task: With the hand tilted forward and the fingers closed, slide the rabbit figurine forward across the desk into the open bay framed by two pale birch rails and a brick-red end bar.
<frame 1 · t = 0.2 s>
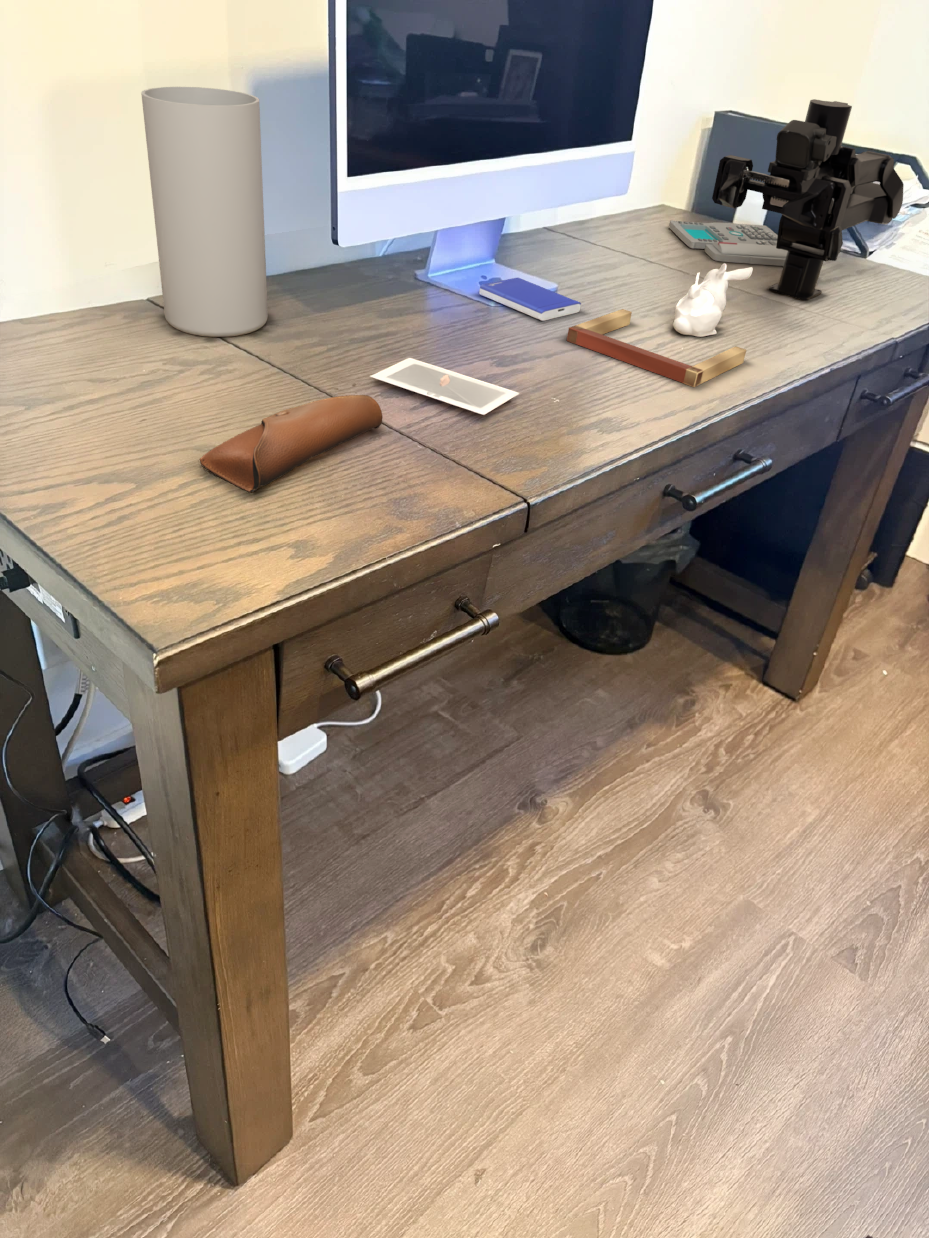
hand: (751, 202, 124), 16 cm above the table, tool horizontal, fingers open, 9 cm apart
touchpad: (443, 395, 105), on the table
bay: (654, 352, 122), on the table
cylinder vase: (217, 323, 117), on the table
sunglasses case: (293, 451, 91), on the table
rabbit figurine: (704, 332, 130), on the table
office telephone: (735, 247, 171), on the table
hard drive: (528, 305, 133), on the table
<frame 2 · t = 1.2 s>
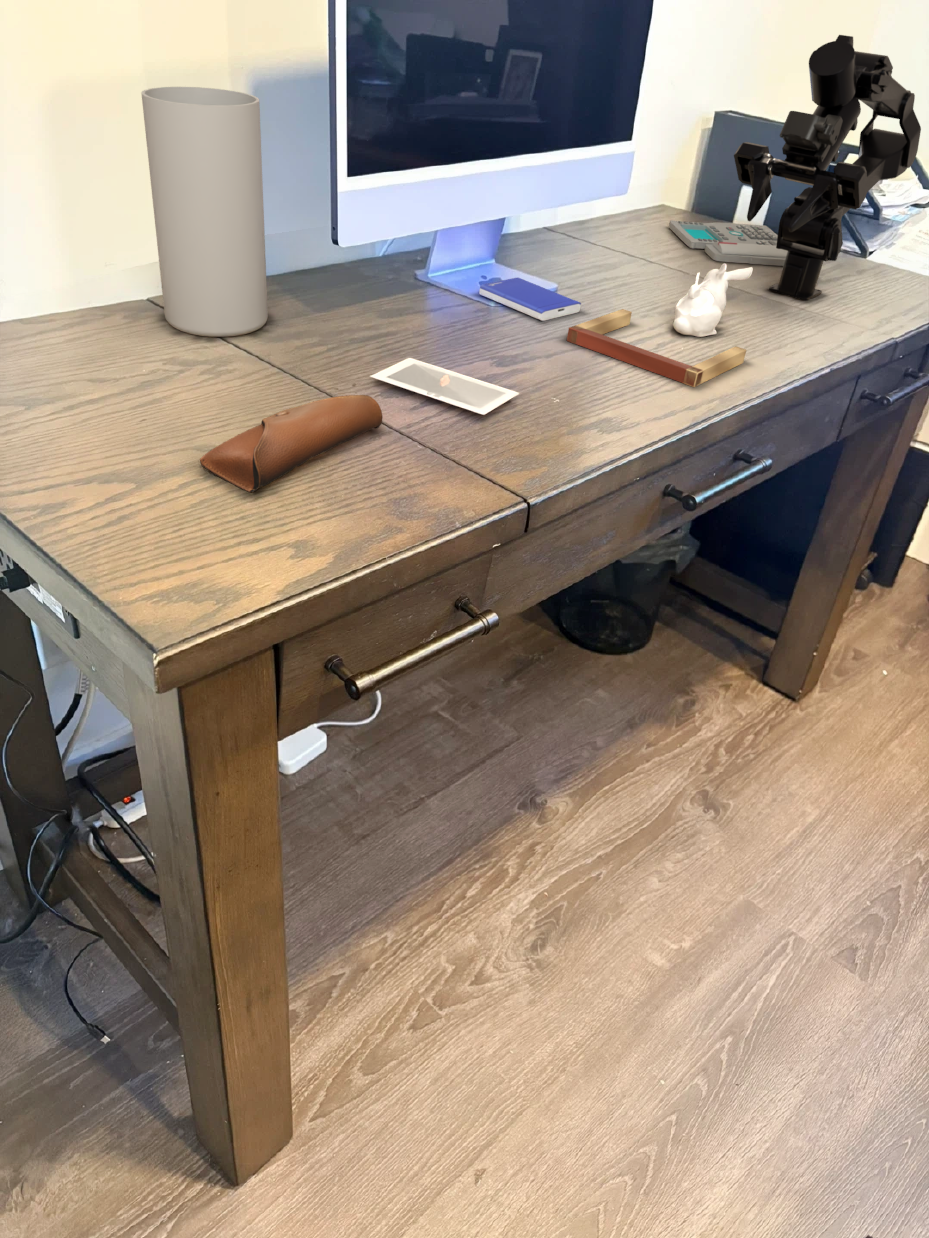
hand: (768, 224, 131), 13 cm above the table, tool tilted 45°, fingers open, 6 cm apart
nothing on the table moved.
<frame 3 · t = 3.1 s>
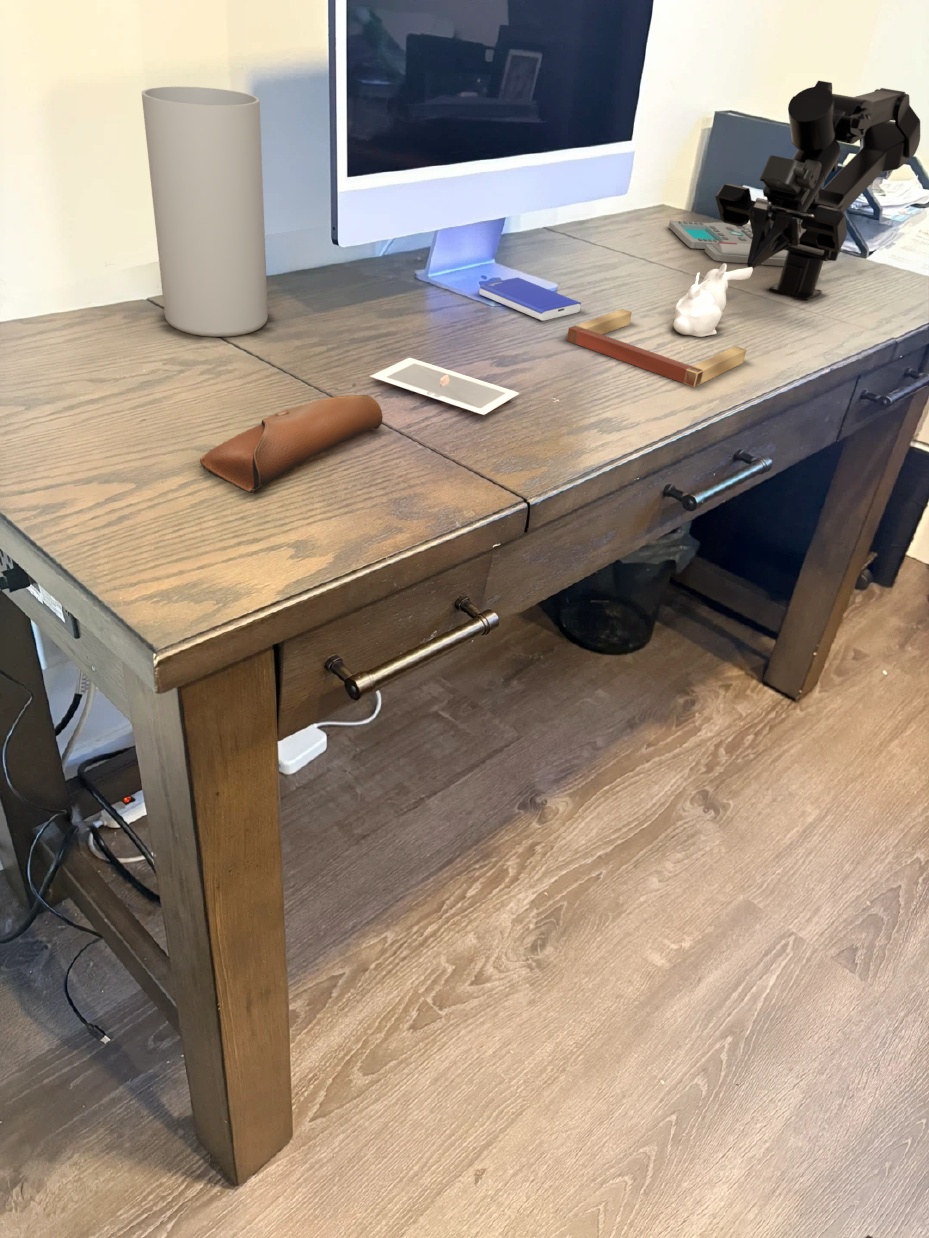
hand: (749, 266, 132), 7 cm above the table, tool tilted 45°, fingers closed
nothing on the table moved.
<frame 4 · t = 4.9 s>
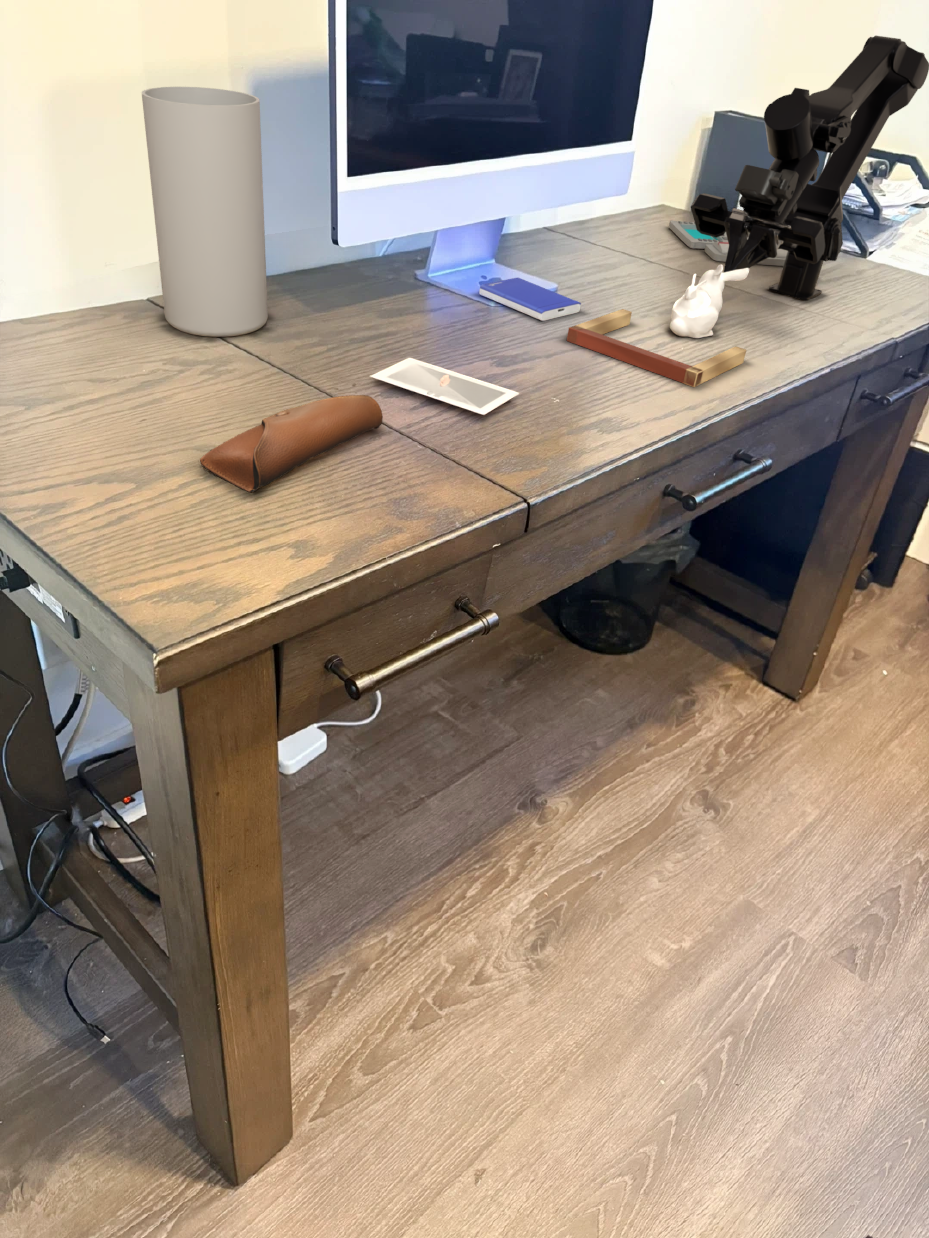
hand: (725, 278, 128), 7 cm above the table, tool tilted 45°, fingers closed
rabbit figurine: (700, 333, 130), on the table, touching gripper
everything else where it was.
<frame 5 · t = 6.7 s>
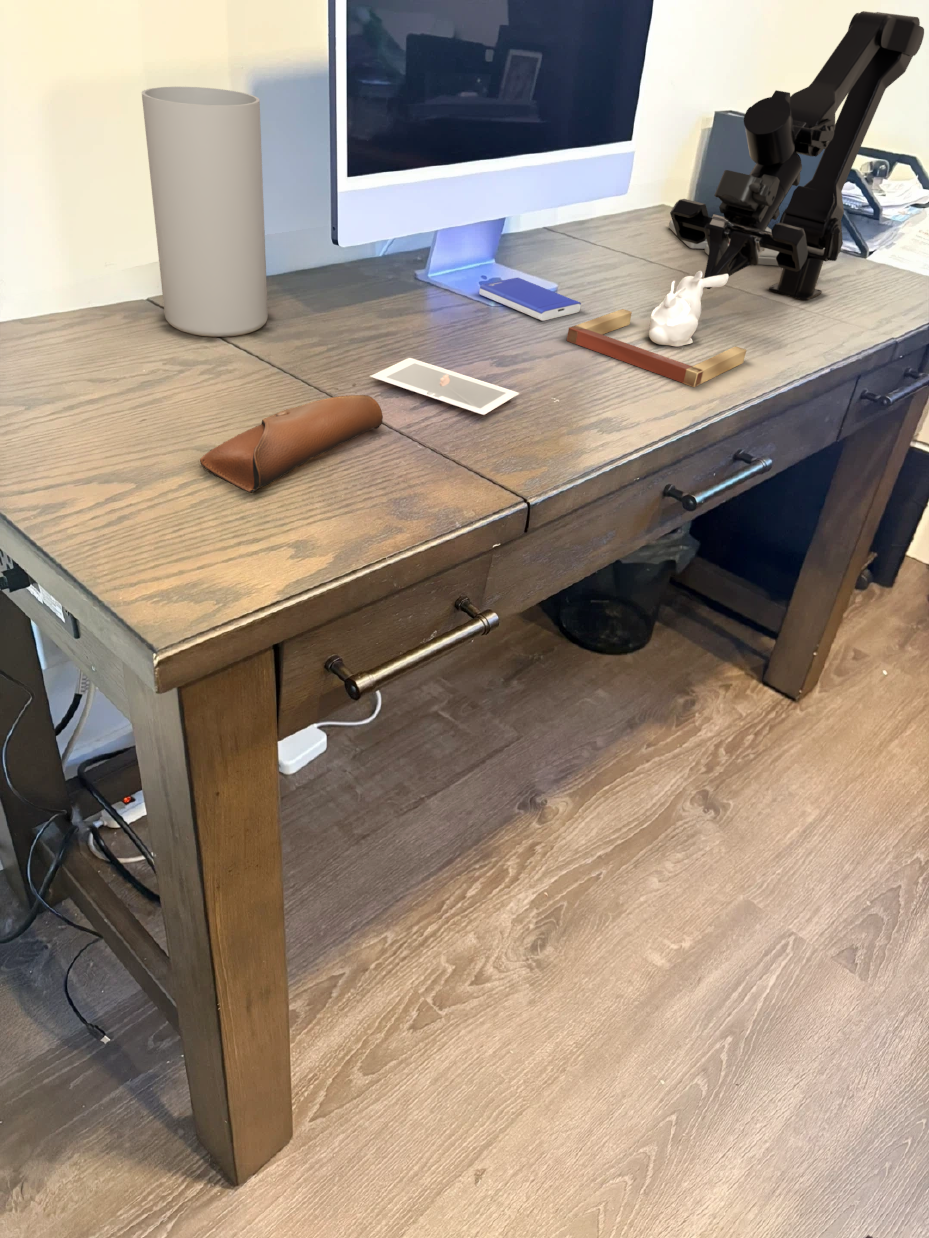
hand: (705, 287, 125), 7 cm above the table, tool tilted 45°, fingers closed
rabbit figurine: (679, 341, 126), on the table
everything else where it was.
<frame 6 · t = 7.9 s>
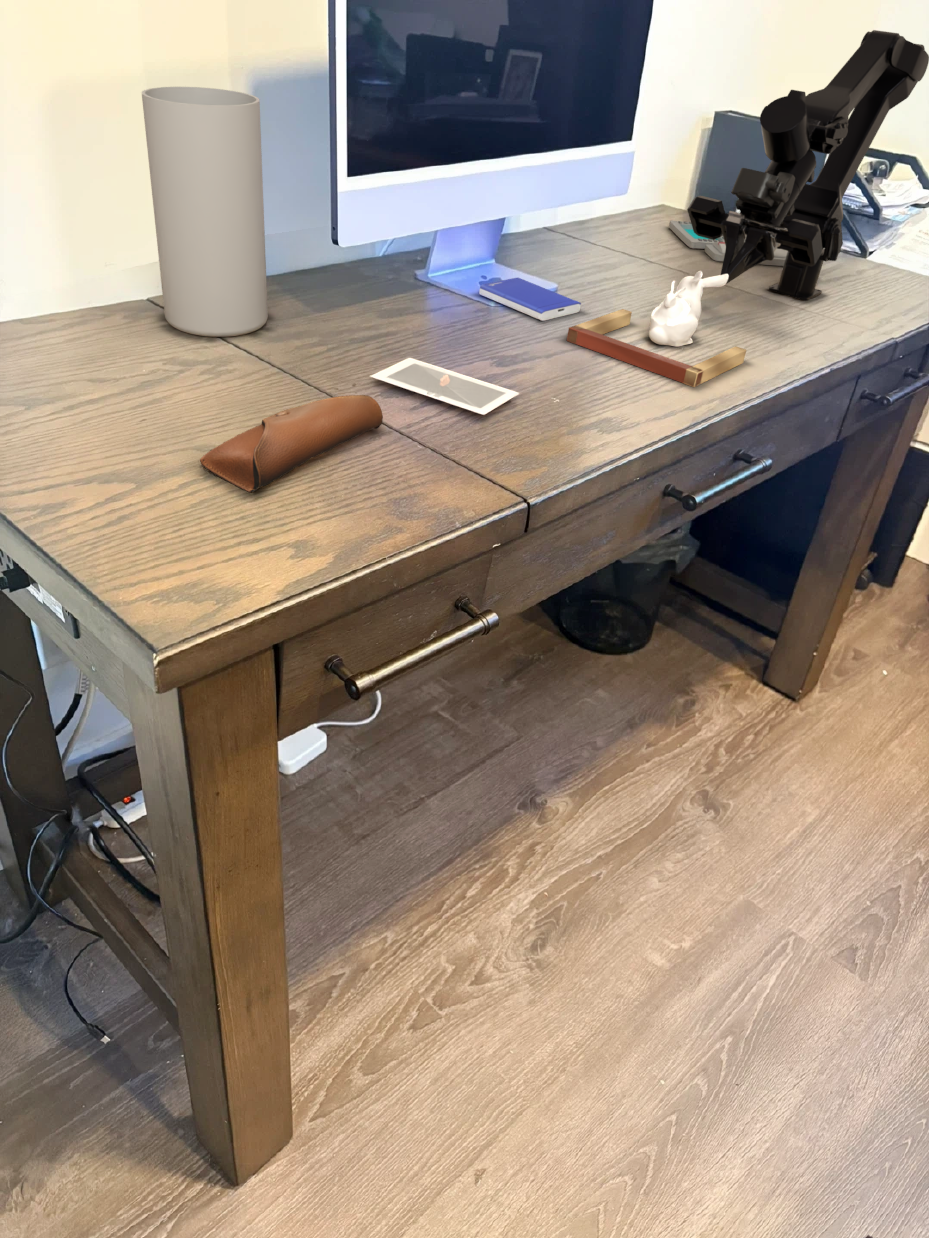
hand: (722, 282, 128), 6 cm above the table, tool tilted 45°, fingers closed
nothing on the table moved.
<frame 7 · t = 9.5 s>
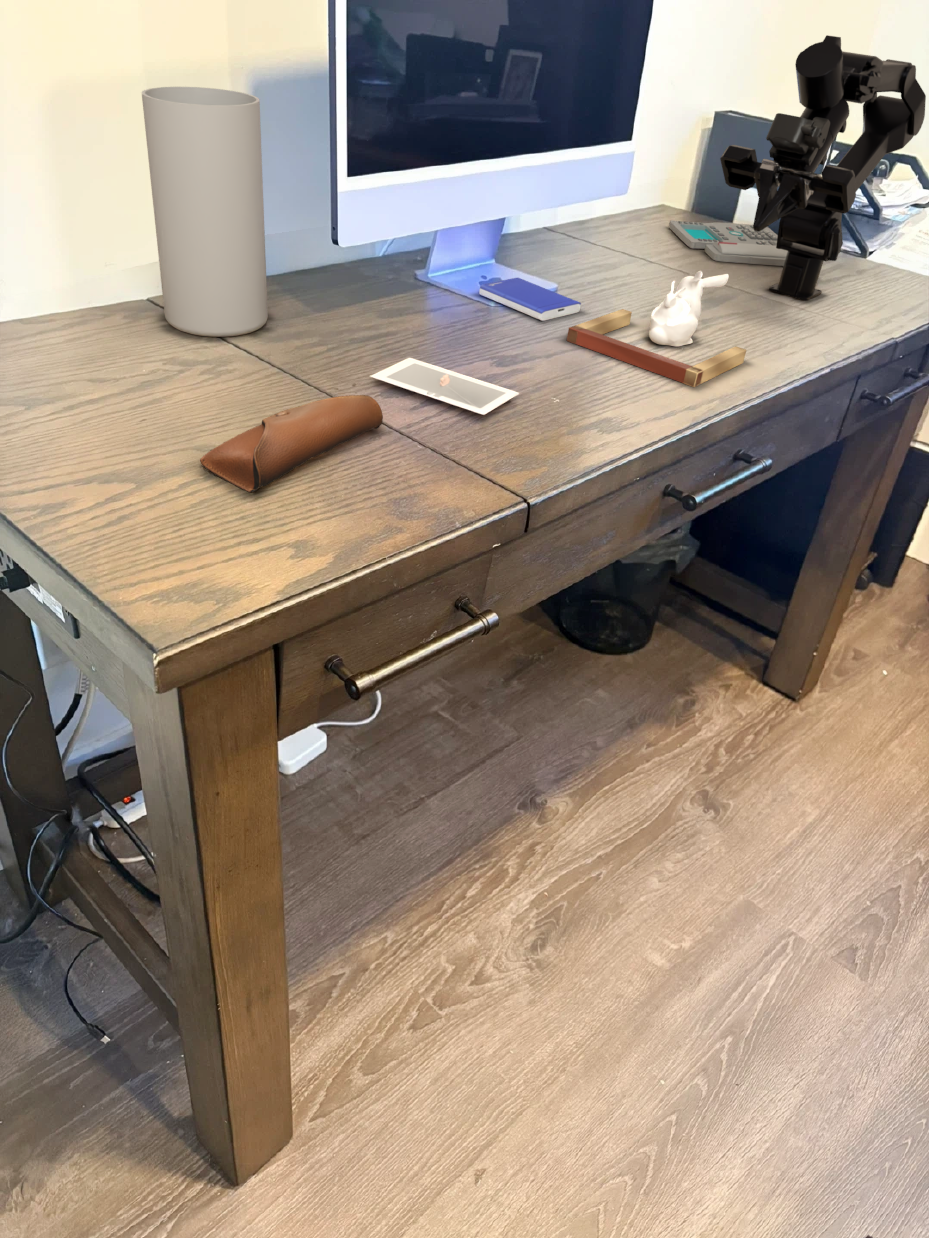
hand: (755, 229, 128), 13 cm above the table, tool tilted 45°, fingers closed
nothing on the table moved.
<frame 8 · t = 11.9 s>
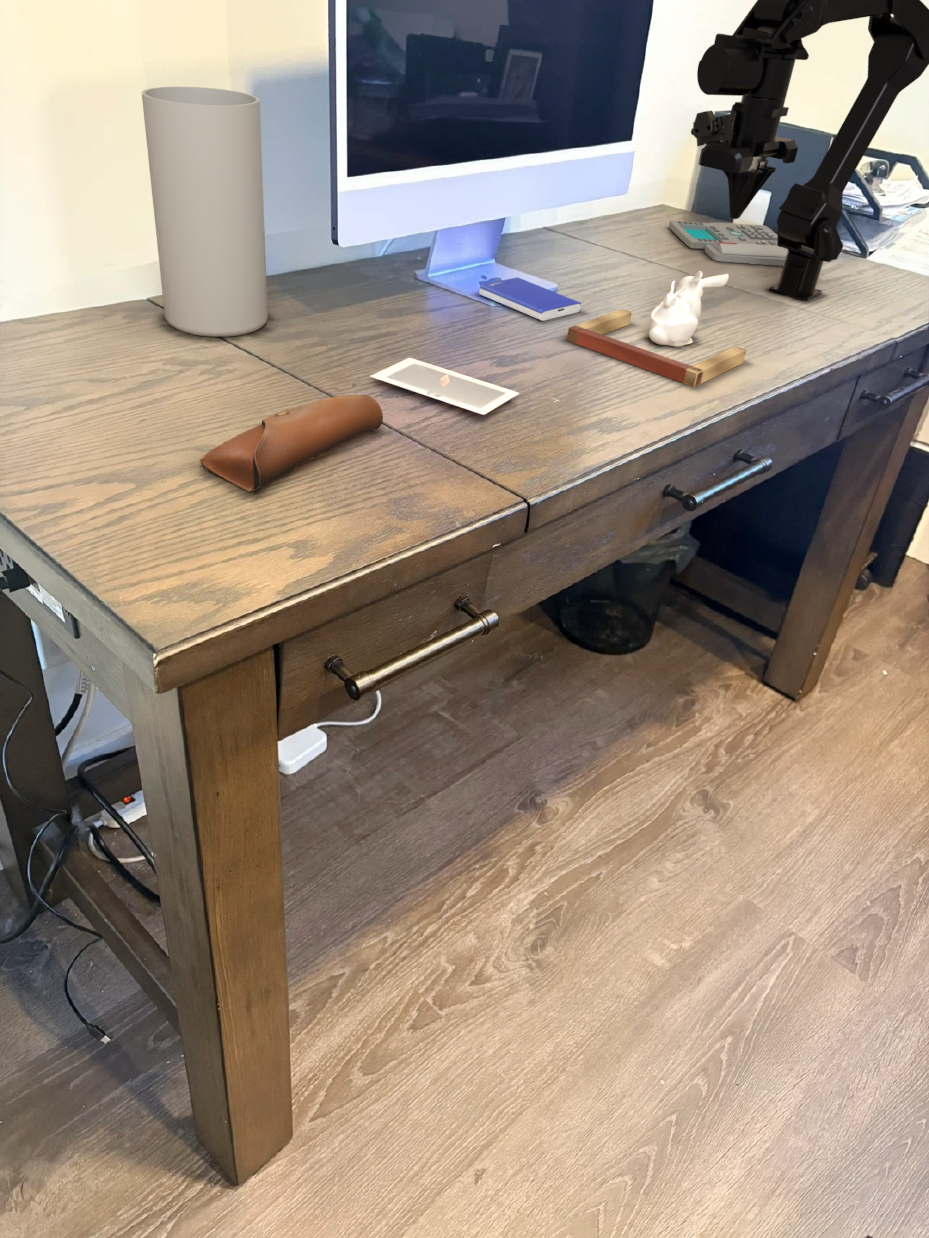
hand: (734, 218, 135), 12 cm above the table, tool pointing down, fingers closed
nothing on the table moved.
at the end: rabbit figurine inside the target area (5.6 cm from its centre), on the table; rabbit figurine tilted 0°; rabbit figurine moved 6.4 cm from its start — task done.
